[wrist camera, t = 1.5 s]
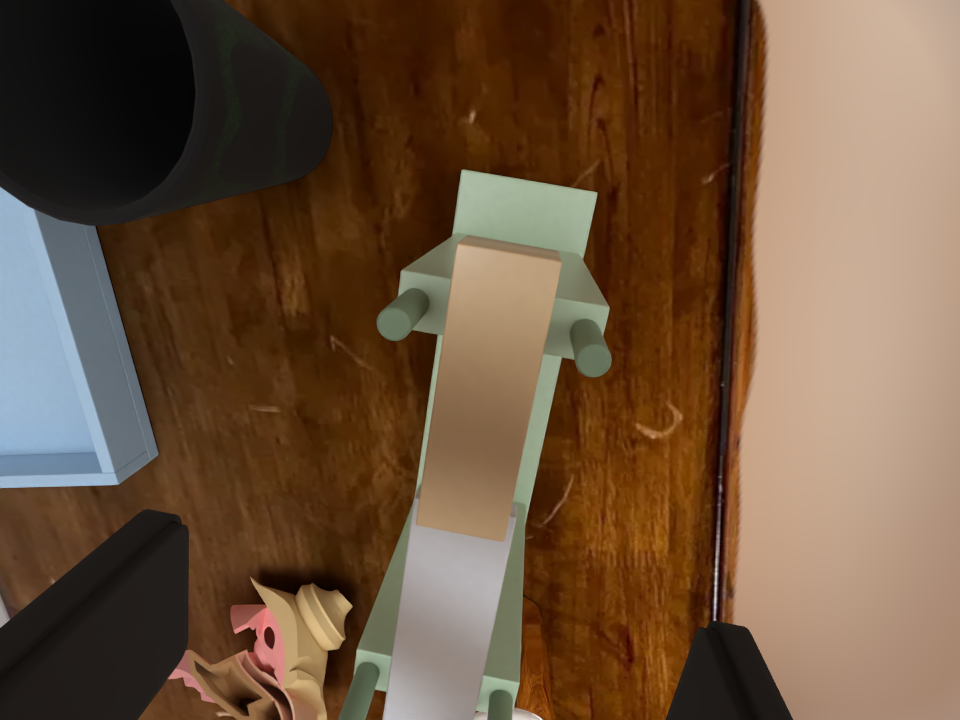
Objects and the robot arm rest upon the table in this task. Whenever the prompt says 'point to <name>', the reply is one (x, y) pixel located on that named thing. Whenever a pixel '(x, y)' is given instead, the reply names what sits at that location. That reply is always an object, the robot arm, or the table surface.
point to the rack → (571, 334)
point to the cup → (148, 107)
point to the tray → (63, 359)
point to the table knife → (470, 476)
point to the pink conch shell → (274, 656)
